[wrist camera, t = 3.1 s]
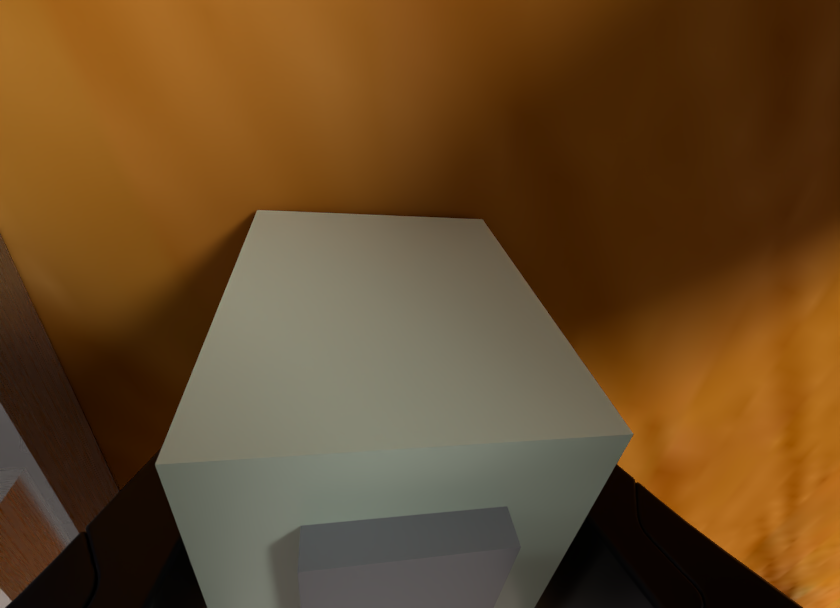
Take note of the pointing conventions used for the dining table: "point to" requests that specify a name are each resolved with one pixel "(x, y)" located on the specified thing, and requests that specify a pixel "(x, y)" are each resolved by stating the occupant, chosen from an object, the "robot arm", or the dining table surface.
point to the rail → (39, 446)
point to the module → (383, 423)
